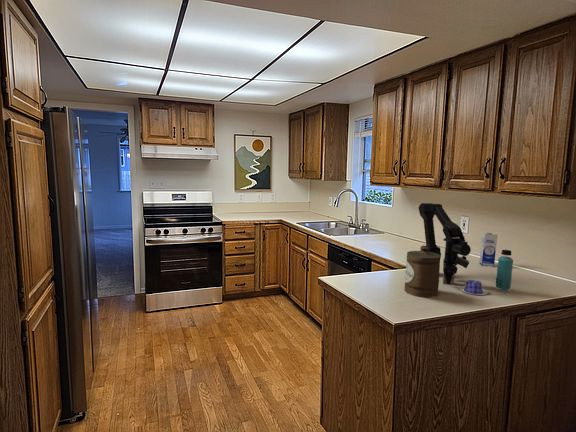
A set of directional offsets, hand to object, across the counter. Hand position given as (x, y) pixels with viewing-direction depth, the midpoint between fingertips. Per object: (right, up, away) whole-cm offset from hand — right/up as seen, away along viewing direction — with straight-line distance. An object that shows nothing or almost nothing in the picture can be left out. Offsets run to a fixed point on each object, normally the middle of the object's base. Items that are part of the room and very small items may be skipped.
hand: (448, 281), depth 187 cm
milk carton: (+40, +3, +39) cm, 56 cm away
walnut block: (0, -1, 0) cm, 1 cm away
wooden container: (-19, -3, -14) cm, 24 cm away
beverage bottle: (+22, -3, -9) cm, 24 cm away
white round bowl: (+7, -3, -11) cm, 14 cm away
